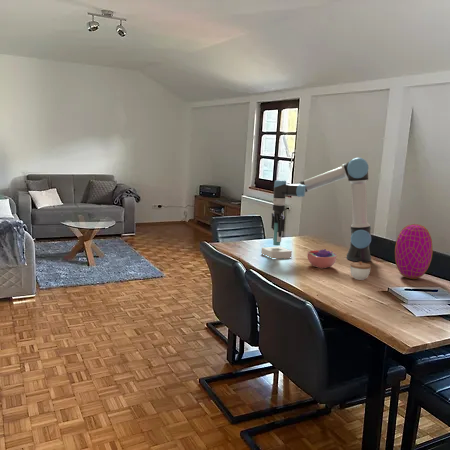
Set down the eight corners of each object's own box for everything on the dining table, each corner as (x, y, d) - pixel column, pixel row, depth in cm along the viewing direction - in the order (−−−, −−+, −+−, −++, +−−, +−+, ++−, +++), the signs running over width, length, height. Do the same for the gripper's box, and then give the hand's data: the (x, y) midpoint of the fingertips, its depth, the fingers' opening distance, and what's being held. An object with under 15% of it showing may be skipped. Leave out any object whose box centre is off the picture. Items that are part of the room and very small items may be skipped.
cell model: (333, 263, 287) (334, 245, 285) (337, 272, 268) (339, 252, 266) (305, 262, 289) (306, 244, 287) (307, 270, 269) (309, 251, 267)
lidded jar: (359, 282, 249) (360, 264, 248) (345, 276, 259) (346, 260, 257) (373, 280, 254) (375, 263, 253) (359, 274, 263) (361, 258, 262)
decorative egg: (431, 277, 264) (437, 224, 260) (426, 285, 248) (432, 229, 243) (396, 271, 274) (401, 220, 269) (389, 278, 257) (394, 224, 252)
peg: (281, 245, 300) (282, 223, 298) (275, 245, 298) (276, 223, 296) (277, 243, 304) (279, 222, 301) (271, 244, 302) (273, 222, 300)
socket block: (291, 257, 299) (291, 251, 298) (272, 259, 293) (272, 252, 292) (280, 253, 311) (280, 246, 311) (261, 254, 306) (261, 247, 305)
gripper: (267, 202, 303) (265, 238, 307) (280, 206, 287) (278, 243, 291) (277, 202, 306) (275, 238, 310) (291, 206, 290) (289, 243, 294)
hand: (276, 240), depth 300 cm, fingers closed on peg, 4 cm apart
